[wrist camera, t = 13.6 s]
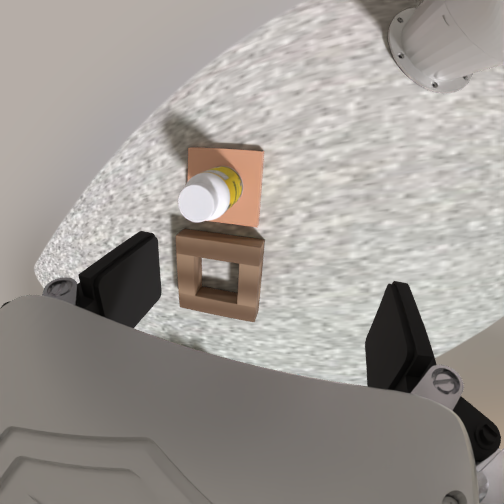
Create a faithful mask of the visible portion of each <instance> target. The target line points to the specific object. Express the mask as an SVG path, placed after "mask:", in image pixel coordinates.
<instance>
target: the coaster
mask: <svg viewBox="0 0 504 504" xmlns="http://www.w3.org/2000/svg"><path fill="white" fill-rule="evenodd" d="M263 160H264V151H255V150H242V149H226V148H203V147H189V148H188V181H189V179H191V178H192V177H193V176H195V175H197V174H199V173H202V172H204V171H207V170H209V169H212V168H215V167H218V166H227V167H230V168H232V169H234V170H235V171H236V172H237V173H238V174H239V175H240V176H241V178H242V181H243V192H242V195H241V197H240V198H239V200H238V201H237V202H236V203H235V204H234V205H233V206H232V207H230V208H229V209H228V210H227V211H226V212H225V213H224V214H223V215H221V216H220V217H219V218H217V219H214V220H209V221H212V222H220V223H228V224H236V225H243V226H251V227H258V225H259V214H260V201H261V188H262V174H263Z"/></svg>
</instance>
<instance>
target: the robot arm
mask: <svg viewBox="0 0 504 504" xmlns="http://www.w3.org/2000/svg"><path fill="white" fill-rule="evenodd" d="M398 21H399V22H400V23H399V22H398ZM388 42H389V47H390V50H391V52H392V55H393V57H394V59H395V61H396V62H397V64H398V66H399V67H400V68H401V69H402V71H403V72H404V73H405V74H406V75H407V76H408V77H409V78H410V79H411V80H413V81H414V82H415V83H417V84H418V85H420V86H422V87H423V88H425V89H427V90H430V91H433V92H437V93H452V92H456V91H459V90H461V89H462V88H464V87H465V86H466V85H467V84H468V83H469V81H470V79H471V77H472V75H473V73H476V72H479V71H483V70H486V69H490V68H493V67H497V66H501V65H504V0H423V2H421V4H420V5H419V6H418V7H417V8H409V9H406V10H403V11H401V12H400V13H399V14H397V15H396V16H395V18H394V19H393V20H392V22H391V24H390V26H389V31H388ZM398 56H400V57H401V58H399V57H398ZM463 77H464V78H463ZM432 84H433V85H434V87H433V86H432ZM79 279H80V283H78V284H77V282H76V281H75V280H74V279H72V278H67V277H66V278H58V279H55V280H53V281H51V282H50V283H48V284H47V285H46V286H45V288H44V291H43V294H42V296H40V295H26V296H21V297H18V298H16V299H14V300H12V301H10V302H7V303H5V304H4V305H3V306H2V307H1V308H0V504H504V449H502V450H500V449H499V446H500V443H501V436H500V432H499V430H498V428H497V426H496V425H495V424H494V423H493V422H492V421H490V420H489V419H488V418H487V417H485V416H484V415H483V414H482V413H481V412H480V411H478V410H477V409H476V408H475V407H473V406H472V405H471V404H470V403H468V402H467V401H466V400H465V399H464V398H462V397H461V394H462V392H463V388H464V385H463V381H462V378H461V377H460V375H459V374H458V373H457V372H456V371H455V370H454V369H452V368H450V367H449V366H445V365H436V361H435V358H434V354H433V351H432V348H431V345H430V342H429V338H428V335H427V332H426V329H425V327H424V324H423V322H422V319H421V316H420V313H419V311H418V308H417V305H416V303H415V300H414V297H413V295H412V292H411V290H410V287H409V285H408V284H407V283H402V282H397V281H394V282H393V283H392V284H388V285H387V288H386V290H385V293H384V296H383V298H382V301H381V303H380V306H379V309H378V311H377V314H376V316H375V318H374V321H373V323H372V326H371V328H370V330H369V333H368V335H367V338H366V342H365V351H366V366H367V385H368V387H367V386H361V385H354V384H347V383H341V382H334V381H328V380H322V379H317V378H311V377H306V376H301V375H296V374H291V373H286V372H282V371H277V370H273V369H268V368H264V367H259V366H255V365H251V364H247V363H243V362H239V361H235V360H231V359H228V358H224V357H220V356H217V355H213V354H209V353H206V352H203V351H199V350H196V349H193V348H189V347H186V346H183V345H180V344H177V343H174V342H171V341H168V340H165V339H162V338H159V337H156V336H153V335H150V334H147V333H145V332H142V331H139V330H136V329H134V327H135V326H136V325H137V324H138V323H139V321H140V320H141V319H142V318H143V317H144V316H145V315H146V313H147V312H148V311H149V310H150V309H151V308H152V307H153V305H154V304H155V303H156V302H157V301H158V300H159V298H160V296H161V279H160V266H159V251H158V239H157V238H156V237H155V235H154V234H153V233H149V232H144V231H140V232H138V233H137V234H135V235H134V236H132V237H131V238H129V239H128V240H126V241H125V242H123V243H122V244H121V245H119V246H118V247H116V248H115V249H113V250H112V251H111V252H109V253H108V254H106V255H105V256H103V257H102V258H101V259H99V260H98V261H97V262H95V263H94V264H92V265H91V266H90V267H88V268H87V269H86V270H84V271H83V272H82V273H80V274H79Z"/></svg>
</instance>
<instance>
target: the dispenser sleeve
mask: <svg viewBox="0 0 504 504" xmlns="http://www.w3.org/2000/svg"><path fill="white" fill-rule="evenodd" d="M264 243H265V240H263V239H256V238H249V237H242V236H235V235H227V234H220V233H213V232H205V231H198V230H190V229H184V230H182V231H181V232H180V233H178V234H177V235H176V256H177V274H178V289H179V302H180V307H182V308H187V309H191V310H196V311H200V312H205V313H210V314H214V315H219V316H224V317H229V318H234V319H239V320H245V321H250V322H255V319H256V316H257V313H258V309H259V298H260V288H261V277H262V266H263V254H264ZM202 258H207V259H214V260H220V261H226V262H232V263H238V264H239V279H238V293H235V292H230V291H224V290H219V289H214V288H208V287H203V286H202Z"/></svg>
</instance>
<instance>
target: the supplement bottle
mask: <svg viewBox="0 0 504 504" xmlns="http://www.w3.org/2000/svg"><path fill="white" fill-rule="evenodd" d="M242 192H243V181H242V178H241V176H240V175H239V174H238V173H237V172H236V171H235V170H234V169H232V168H230V167H227V166H218V167H215V168H212V169H209V170H207V171H204V172H202V173H199V174H197V175H195V176H193V177H192V178H191V179H189V181H188V182H187V183H186V185H185V187H184V189H183V190H182V191H181V192H180V194H179V197H178V206H179V210H180V212H181V213H182V215H183V216H184V217H185V218H186V219H188V220H190V221H192V222H203V221H209V220H214V219H217V218H219V217H220V216H221V215H223V214H224V213H225V212H226V211H227V210H228V209H229V208H230V207H232V206H233V205H234V204H235V203H236V202H237V201H238V200H239V198H240V197H241V195H242Z"/></svg>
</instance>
